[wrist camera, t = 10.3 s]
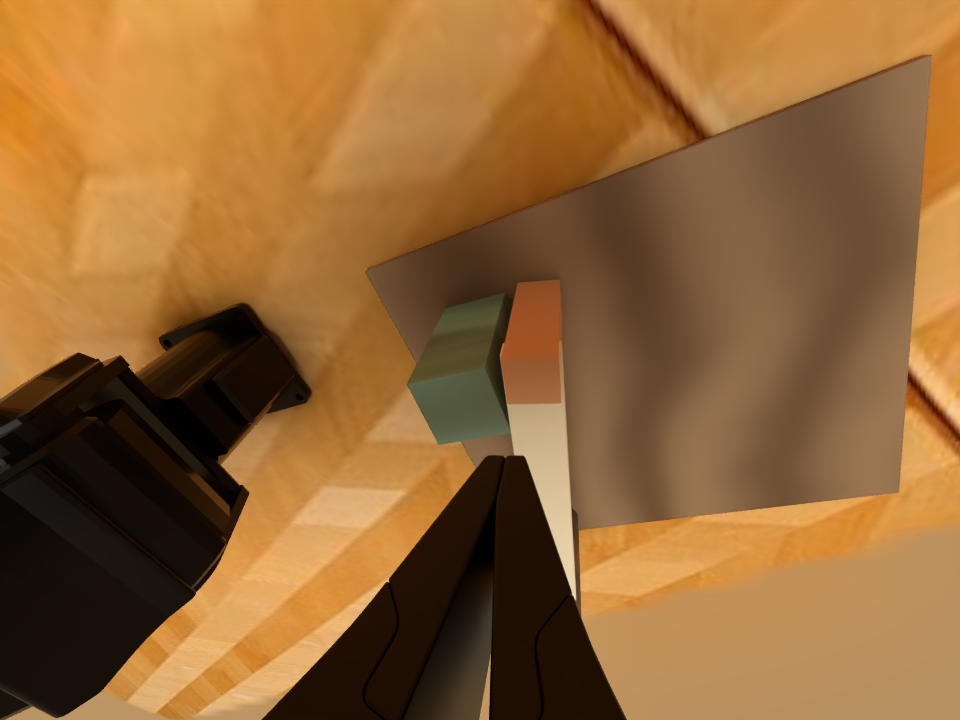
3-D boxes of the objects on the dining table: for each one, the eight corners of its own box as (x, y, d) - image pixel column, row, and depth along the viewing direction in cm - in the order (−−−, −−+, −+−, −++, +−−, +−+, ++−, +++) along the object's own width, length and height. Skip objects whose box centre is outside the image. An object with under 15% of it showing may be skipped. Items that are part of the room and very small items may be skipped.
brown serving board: (515, 532, 30) (499, 685, 22) (368, 268, 21) (258, 378, 13) (894, 486, 23) (1053, 687, 15) (923, 55, 14) (1352, 35, 6)
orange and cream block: (573, 503, 26) (576, 608, 21) (540, 502, 27) (534, 605, 21) (562, 279, 19) (561, 357, 14) (515, 282, 19) (497, 360, 14)
